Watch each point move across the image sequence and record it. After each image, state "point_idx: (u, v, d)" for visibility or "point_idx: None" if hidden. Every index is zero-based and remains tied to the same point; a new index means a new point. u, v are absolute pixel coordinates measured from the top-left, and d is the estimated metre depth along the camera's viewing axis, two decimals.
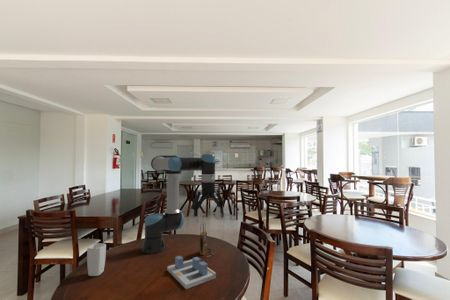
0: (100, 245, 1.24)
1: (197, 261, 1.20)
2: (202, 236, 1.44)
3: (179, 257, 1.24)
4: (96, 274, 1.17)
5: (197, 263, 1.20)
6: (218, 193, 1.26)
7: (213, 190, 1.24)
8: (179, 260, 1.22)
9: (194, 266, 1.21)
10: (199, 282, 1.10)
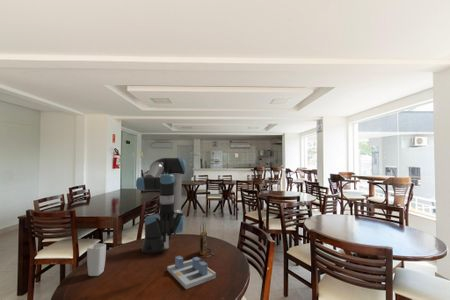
0: (100, 245, 1.24)
1: (197, 261, 1.20)
2: (202, 236, 1.44)
3: (179, 257, 1.24)
4: (96, 274, 1.17)
5: (197, 263, 1.20)
6: (175, 218, 1.22)
7: (173, 211, 1.22)
8: (179, 260, 1.22)
9: (194, 266, 1.21)
10: (199, 282, 1.10)
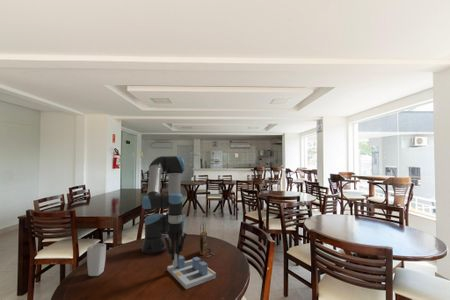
0: (100, 245, 1.24)
1: (197, 261, 1.20)
2: (202, 236, 1.44)
3: (180, 257, 1.24)
4: (96, 274, 1.17)
5: (197, 263, 1.20)
6: (183, 236, 1.25)
7: (181, 230, 1.24)
8: (180, 260, 1.22)
9: (194, 266, 1.21)
10: (199, 282, 1.10)
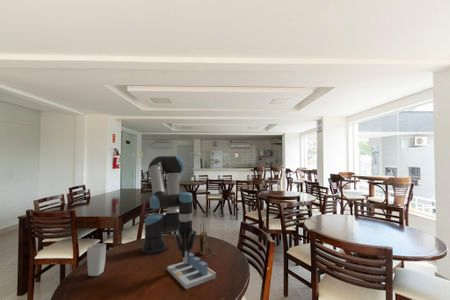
0: (100, 245, 1.24)
1: (197, 261, 1.20)
2: (202, 236, 1.44)
3: (190, 254, 1.28)
4: (96, 274, 1.17)
5: (197, 263, 1.20)
6: (193, 234, 1.28)
7: (191, 228, 1.28)
8: (191, 257, 1.26)
9: (194, 266, 1.21)
10: (199, 282, 1.10)
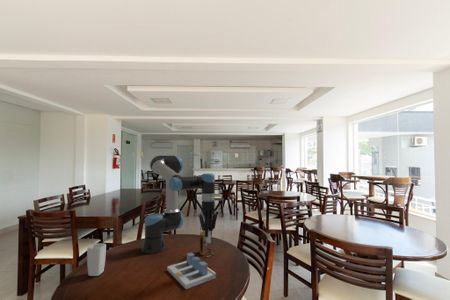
0: (100, 245, 1.24)
1: (197, 261, 1.20)
2: (202, 236, 1.44)
3: (190, 254, 1.28)
4: (96, 274, 1.17)
5: (197, 263, 1.20)
6: (216, 214, 1.30)
7: (214, 208, 1.29)
8: (191, 257, 1.26)
9: (194, 266, 1.21)
10: (199, 282, 1.10)
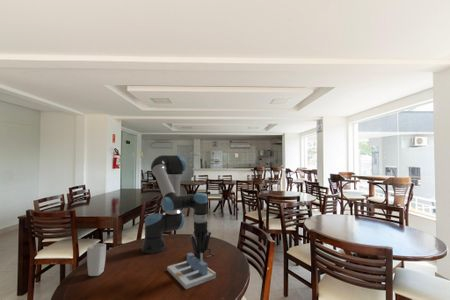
0: (100, 245, 1.24)
1: (196, 261, 1.20)
2: None
3: (190, 254, 1.28)
4: (96, 274, 1.17)
5: (196, 263, 1.20)
6: (208, 235, 1.26)
7: (206, 229, 1.26)
8: (191, 257, 1.26)
9: (193, 266, 1.20)
10: (199, 282, 1.10)
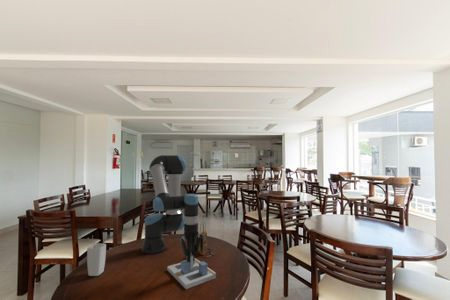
0: (100, 245, 1.24)
1: (185, 265, 1.16)
2: (202, 236, 1.44)
3: None
4: (96, 274, 1.17)
5: (185, 267, 1.16)
6: (199, 238, 1.23)
7: (197, 231, 1.22)
8: None
9: (182, 270, 1.17)
10: (199, 282, 1.10)
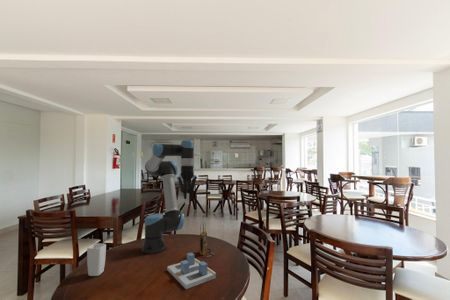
0: (100, 245, 1.24)
1: (185, 265, 1.16)
2: (202, 236, 1.44)
3: (190, 254, 1.28)
4: (96, 274, 1.17)
5: (185, 267, 1.16)
6: (194, 179, 1.39)
7: (192, 173, 1.39)
8: (191, 257, 1.26)
9: (182, 270, 1.17)
10: (199, 282, 1.10)
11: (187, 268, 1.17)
